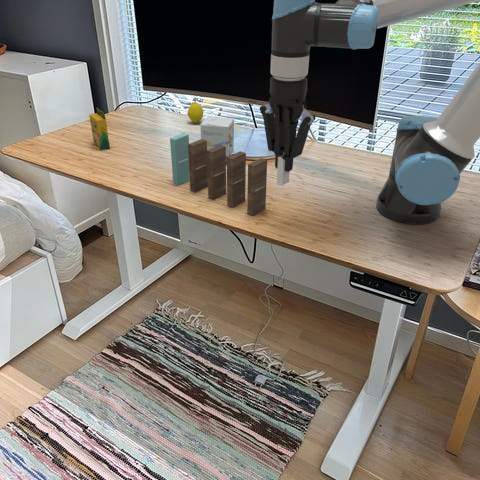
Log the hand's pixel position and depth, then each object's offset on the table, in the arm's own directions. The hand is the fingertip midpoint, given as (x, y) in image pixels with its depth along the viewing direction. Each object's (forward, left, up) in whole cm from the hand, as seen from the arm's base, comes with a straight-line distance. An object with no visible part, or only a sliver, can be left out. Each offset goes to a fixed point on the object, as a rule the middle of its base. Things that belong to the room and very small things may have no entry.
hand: (282, 182), depth 110 cm
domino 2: (+27, 0, -10) cm, 29 cm away
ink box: (+37, -19, -10) cm, 43 cm away
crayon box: (+72, -2, -10) cm, 73 cm away
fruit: (+65, -38, -10) cm, 76 cm away
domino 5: (+7, 0, -10) cm, 12 cm away
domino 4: (+14, 0, -10) cm, 17 cm away
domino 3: (+20, 0, -10) cm, 23 cm away
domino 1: (+33, 0, -10) cm, 35 cm away
